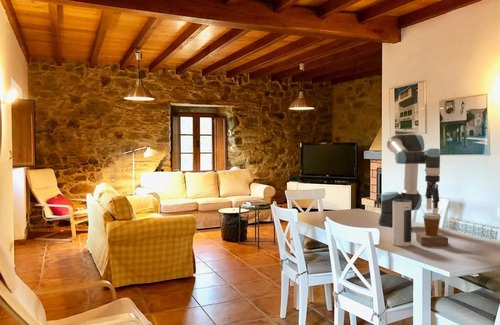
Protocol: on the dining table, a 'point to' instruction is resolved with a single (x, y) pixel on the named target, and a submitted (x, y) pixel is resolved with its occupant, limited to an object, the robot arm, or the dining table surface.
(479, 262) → the dining table surface
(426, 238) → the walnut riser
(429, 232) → the disposable coffee cup
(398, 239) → the speaker
